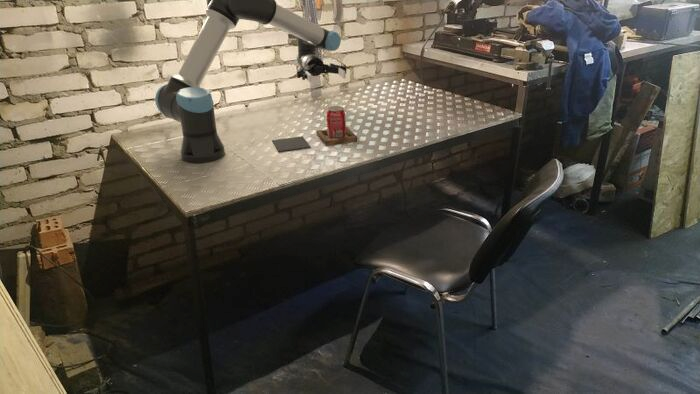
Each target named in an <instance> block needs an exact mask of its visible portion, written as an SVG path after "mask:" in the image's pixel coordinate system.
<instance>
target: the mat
mask: <svg viewBox="0 0 700 394" xmlns="http://www.w3.org/2000/svg"><path fill="white" fill-rule="evenodd" d="M271 141H272V144H273V146H274V147H275V149H276V151H277V152H278V153H283V152H292V151H298V150H305V149H306V150H307V149H311V146H310V143H308V142H307V140H306V138H304V136H294V137H285V138H280V139H272V140H271Z"/></svg>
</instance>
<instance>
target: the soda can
mask: <svg viewBox="0 0 700 394" xmlns="http://www.w3.org/2000/svg"><path fill="white" fill-rule="evenodd" d="M326 125H327V126H326V129H327V134H328V135H327V138H328V139H334V138H342V137H346V136H347V135H346V127H347V125H346V112H345V110H344V107H343V106H337V105H336V106H335V105H333V106H330V107H328V109H327V112H326Z"/></svg>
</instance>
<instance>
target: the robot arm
mask: <svg viewBox="0 0 700 394" xmlns="http://www.w3.org/2000/svg"><path fill="white" fill-rule="evenodd" d="M206 2H207V8H206V10H205V14H206V17H207V18H206V19H205V22H204V24H203V25H202V27H201V29H200V30H199V33H198V35H197V36H196V39H195V41H194V42H193V44H192V46H191V48H190V50H189V52H188V54H187V55H186V57H185V60H184V62H183V63H182V65H181V66H180V67H181V68H180V69H179V71H178V73H177V74H176V75H173V76H171V77H170V79H169V81H168V83H166V84H164V85H161V86H160V87H159V88H158V89H157V91H156V93H155V98H154V101H155V105H156V108H157V110H158V111H159V113H161V114H162V115H163V116H164V117H166V118H168V119H172V120H173V121H176V122H178V123H180V126H181V132H182V142H181V148H180V156H181V159H182V161H184V162H187V163H192V164H202V163H203V164H204V163H208V162H213V161H217V160H219V159H221V158H222V157H224V156H225V154H226V150H225V146H224V144H223V142H222V140H221V138H220V136H219V134H218V131H217V124H216V123H217V121H216V117H215V110H214V109H215V108H214V107H215V106H214V100H213V95H212V94H211V92H210V90H208V89H206V88H203V87H201V85H202V84H203V81H204V79H205V77H206V75H207V73H208V71H209V69H210V67H211V65H212V64H213V61H214V60H215V58H216V56H217V53H218V52H219V50H220V48H221V46H222V44H223V42H224V41H225V38H226V36H227V35H228V33H229V31H230V30H233V29H235V28H236V27H237V25H238V23H239V21H240V20H244V21H250V22H251V21H252V22H256V23H259V24H262V25H264V26H267V25H271V26H272V27H275V28H276V29H278V30H281V31H283V32H286V33H288V34H290V35H291V36H294V37H296V38H297V47H298V48H297V49H298V50H297V52H298V53H297V54H296V61H297V64H298V66H299V69H298V70H297V71H296V77H297V79H301V80H302V81H305V80H307V81H308V82H309V83H312V82H313V81H312V77H317V76H320V75H322V74H325V75H326V74H335V75H336V74H337V75H338V76H339V77H341V79H346V74H347V66H344V65H339V64H334V63H329V64H325V63H324V61H323V60H322V59H321V58H320V57H318V56H317V53H316V51H317V49H320V50H325V51H328V52H335V51H337V50H338V49H340V46H341V42H342V39H341V38H342V37H341V36H340V34H339V33H338V32H335V31H333V30H328V29H325V28H324V27H322V26H320V25H318V24H316V23H314V22H312V21H310V20H308V19H306V18H305V17H302V16H300V15H298V14H297V13H295V12H293V11H291V10H289V9H287V8H285V7H283V6H281V5H279V4H278V3H277V1H276V0H206Z"/></svg>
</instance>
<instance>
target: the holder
mask: <svg viewBox="0 0 700 394" xmlns="http://www.w3.org/2000/svg"><path fill="white" fill-rule="evenodd" d="M316 136H317V137H318V139H319V140H320V141H321V142H322V143H323V145H324V146H325V147H330V146H334V145H335V146H337V145H344V144H345V145H346V144H351V143H358V135H356V134H355V133H354V132H353V131H352V130H351V129H350V128H349V127H348V126H346V135H345V137H342V138H334V139H329V138H328V134H327V128H326V129H318V130H316Z"/></svg>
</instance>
